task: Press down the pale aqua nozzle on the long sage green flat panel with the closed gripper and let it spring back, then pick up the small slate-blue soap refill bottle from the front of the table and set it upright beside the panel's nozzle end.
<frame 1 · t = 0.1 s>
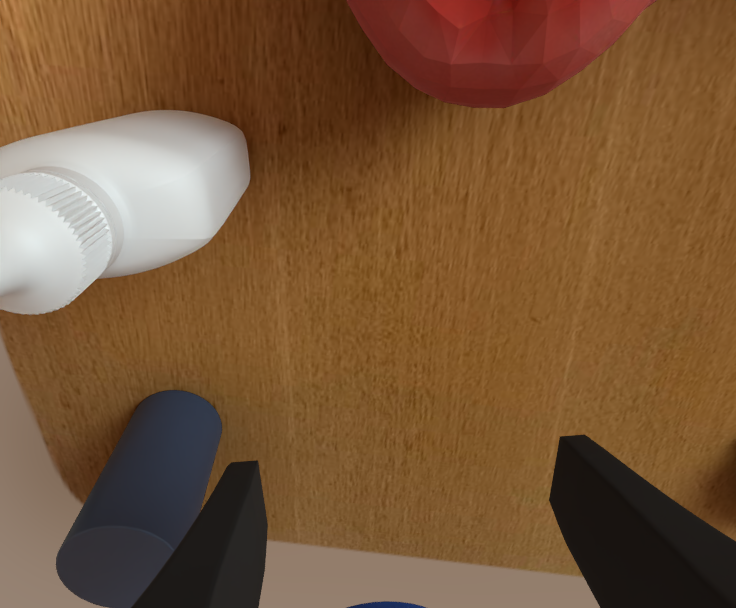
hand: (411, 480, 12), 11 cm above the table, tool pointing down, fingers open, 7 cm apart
eye dropper bottle: (174, 158, 19), on the table
soap refill: (178, 425, 23), on the table
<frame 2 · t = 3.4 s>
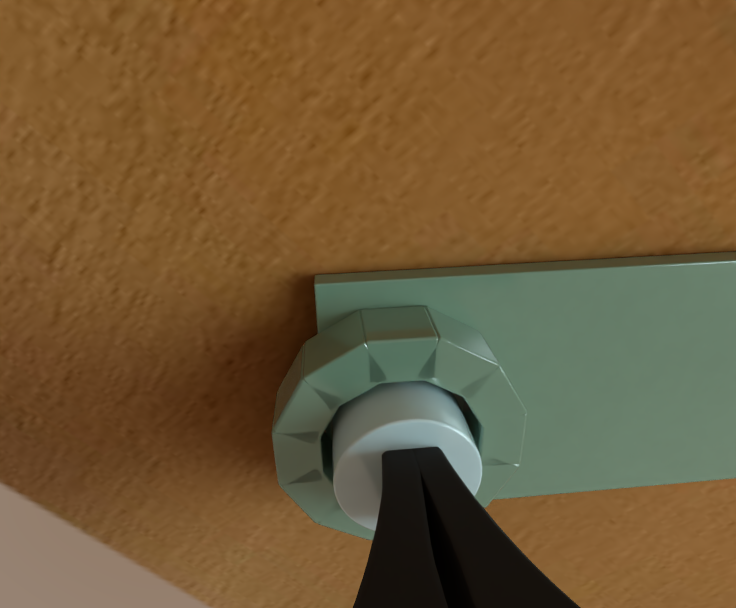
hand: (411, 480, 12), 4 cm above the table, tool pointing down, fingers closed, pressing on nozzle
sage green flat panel: (612, 377, 16), on the table
nozzle: (402, 452, 13), point 3 cm above the table, slide at -0.5 cm, touching gripper
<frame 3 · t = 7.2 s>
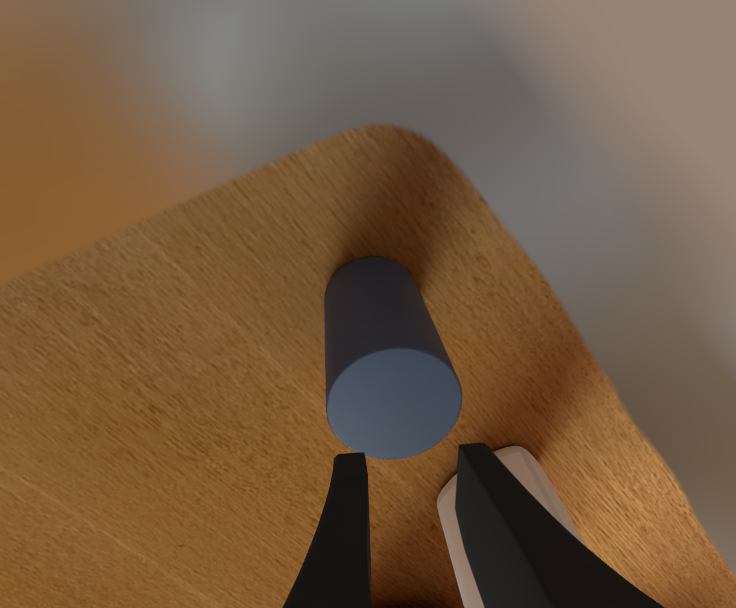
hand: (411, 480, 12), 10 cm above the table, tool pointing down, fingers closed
eye dropper bottle: (484, 477, 26), on the table
soap refill: (371, 300, 21), on the table
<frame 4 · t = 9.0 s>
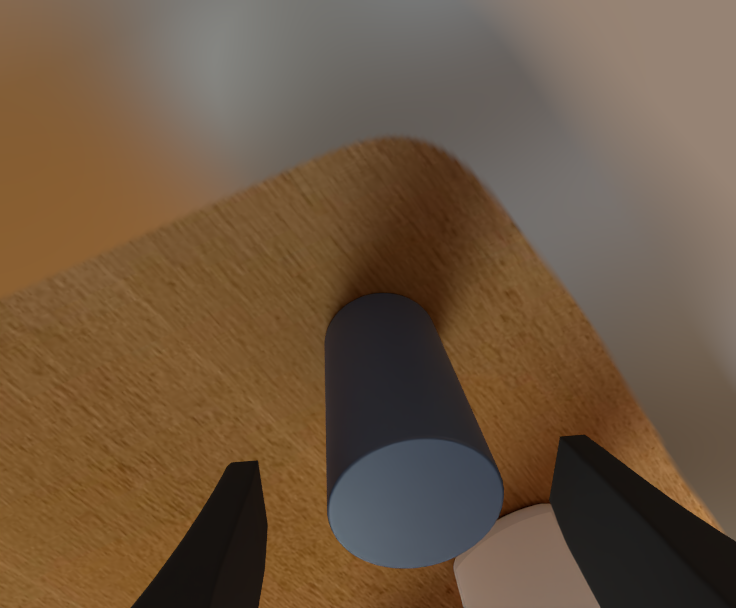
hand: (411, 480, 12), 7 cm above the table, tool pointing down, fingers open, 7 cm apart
eye dropper bottle: (508, 536, 23), on the table
soap refill: (380, 343, 18), on the table
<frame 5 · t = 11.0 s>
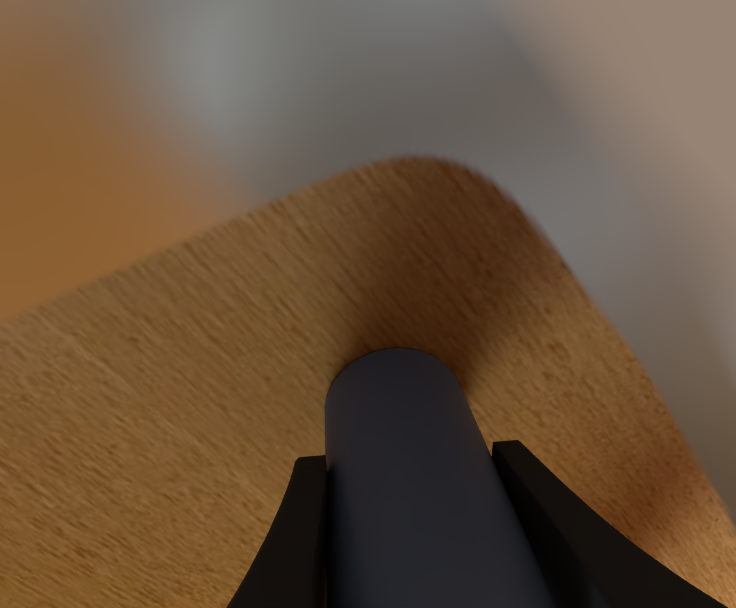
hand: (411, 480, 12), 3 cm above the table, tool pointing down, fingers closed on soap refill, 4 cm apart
soap refill: (393, 407, 15), on the table, touching gripper
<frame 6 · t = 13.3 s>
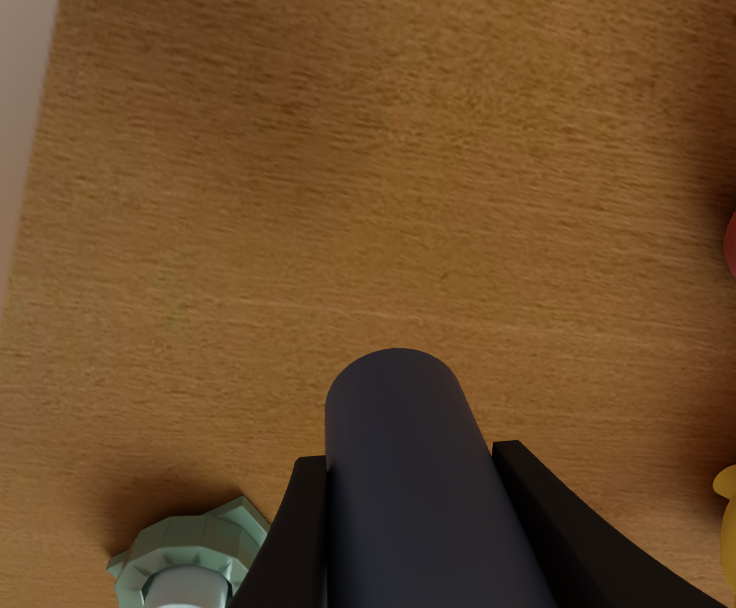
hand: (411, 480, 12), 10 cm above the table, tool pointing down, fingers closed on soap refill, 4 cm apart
soap refill: (393, 407, 15), point 7 cm above the table, touching gripper
when the fingers open (3 cm above the table, at t = 15.9 s): soap refill stays where it is, on the table.
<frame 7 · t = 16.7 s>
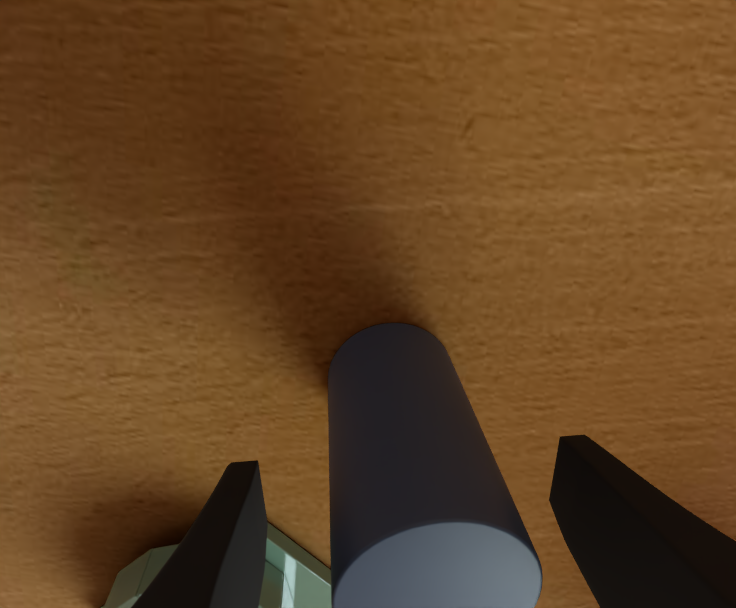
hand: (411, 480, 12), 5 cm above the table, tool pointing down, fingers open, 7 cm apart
soap refill: (390, 377, 16), on the table
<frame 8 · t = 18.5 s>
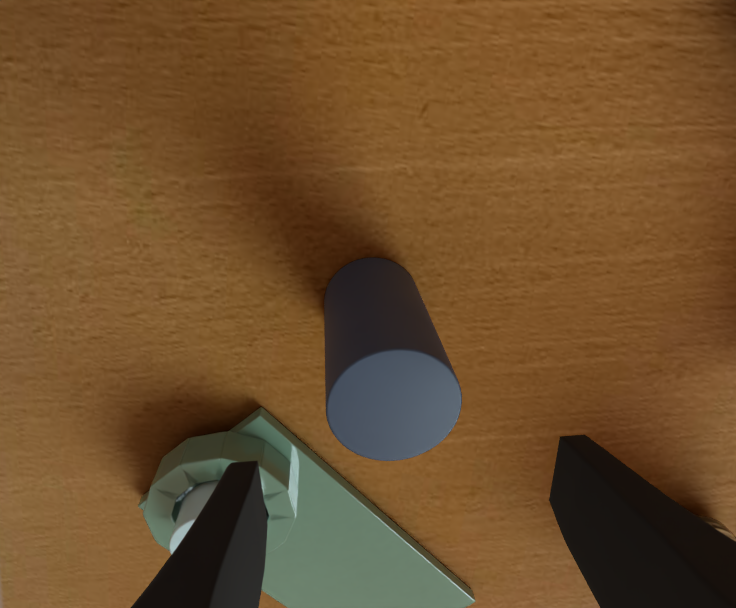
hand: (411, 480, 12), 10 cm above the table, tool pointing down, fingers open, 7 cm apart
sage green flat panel: (322, 547, 27), on the table
nozzle: (218, 528, 22), point 3 cm above the table, slide at 0.1 cm
soap refill: (371, 301, 21), on the table
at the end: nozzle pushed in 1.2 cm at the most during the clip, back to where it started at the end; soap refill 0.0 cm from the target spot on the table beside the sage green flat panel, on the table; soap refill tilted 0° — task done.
